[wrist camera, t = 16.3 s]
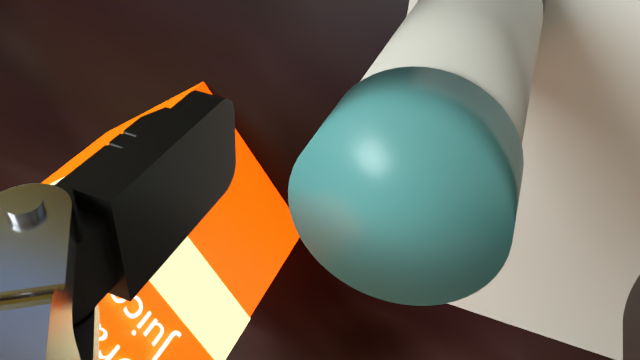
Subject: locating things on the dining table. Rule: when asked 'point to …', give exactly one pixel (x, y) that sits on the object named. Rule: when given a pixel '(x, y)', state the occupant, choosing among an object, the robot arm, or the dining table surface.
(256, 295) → the orange juice
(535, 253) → the paper sheet
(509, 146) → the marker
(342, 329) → the dining table surface
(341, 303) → the dining table surface
